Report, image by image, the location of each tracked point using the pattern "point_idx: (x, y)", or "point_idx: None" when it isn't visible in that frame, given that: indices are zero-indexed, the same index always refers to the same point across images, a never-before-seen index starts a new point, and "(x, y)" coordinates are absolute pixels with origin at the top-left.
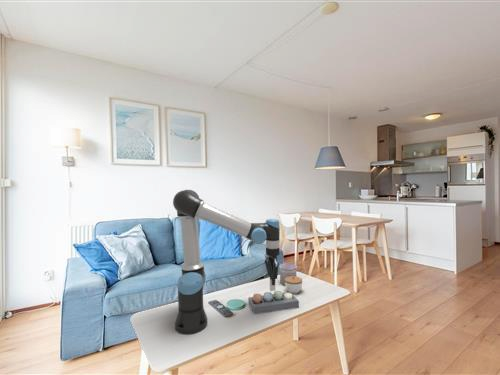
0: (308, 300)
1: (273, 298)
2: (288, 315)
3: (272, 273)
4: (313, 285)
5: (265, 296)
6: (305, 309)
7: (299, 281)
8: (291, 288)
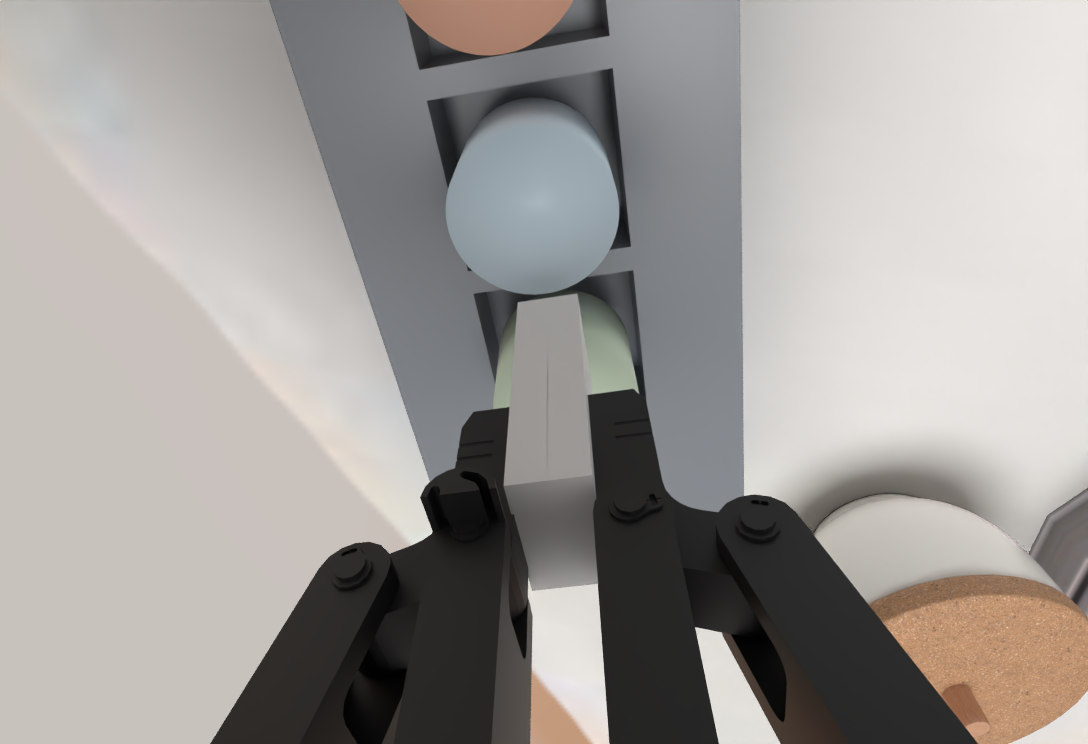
0: None
1: (632, 278)
2: (270, 364)
3: (414, 709)
4: None
5: (469, 148)
6: (412, 544)
7: None
8: None
